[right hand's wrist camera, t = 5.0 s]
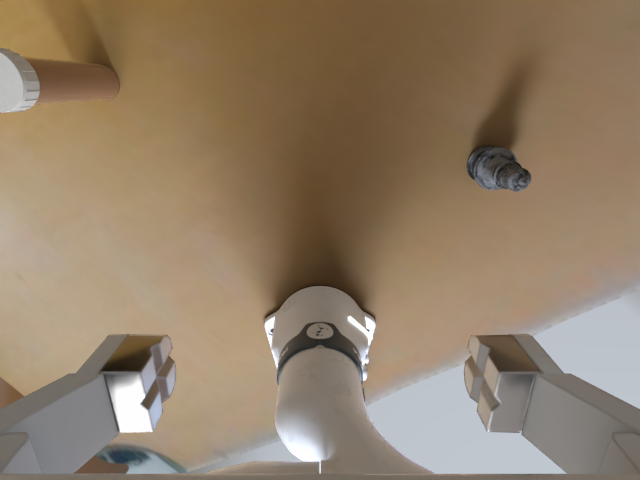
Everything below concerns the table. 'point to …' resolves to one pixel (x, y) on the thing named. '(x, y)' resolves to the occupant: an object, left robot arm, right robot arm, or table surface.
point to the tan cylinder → (73, 81)
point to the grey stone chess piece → (497, 169)
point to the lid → (17, 82)
